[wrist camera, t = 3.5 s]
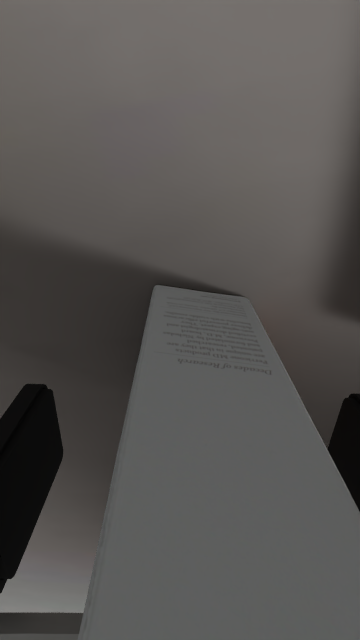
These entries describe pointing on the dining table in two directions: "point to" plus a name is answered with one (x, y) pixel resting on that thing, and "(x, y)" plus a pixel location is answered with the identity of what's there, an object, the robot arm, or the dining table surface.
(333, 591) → the skincare box
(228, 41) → the dining table surface
